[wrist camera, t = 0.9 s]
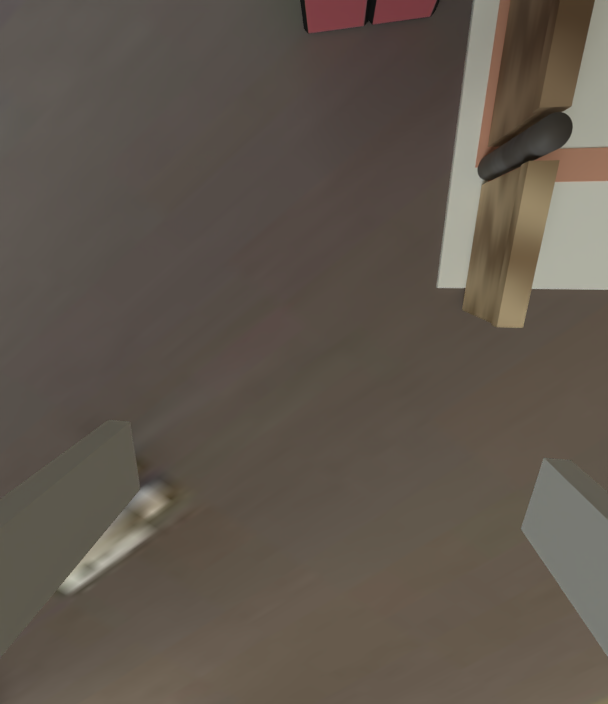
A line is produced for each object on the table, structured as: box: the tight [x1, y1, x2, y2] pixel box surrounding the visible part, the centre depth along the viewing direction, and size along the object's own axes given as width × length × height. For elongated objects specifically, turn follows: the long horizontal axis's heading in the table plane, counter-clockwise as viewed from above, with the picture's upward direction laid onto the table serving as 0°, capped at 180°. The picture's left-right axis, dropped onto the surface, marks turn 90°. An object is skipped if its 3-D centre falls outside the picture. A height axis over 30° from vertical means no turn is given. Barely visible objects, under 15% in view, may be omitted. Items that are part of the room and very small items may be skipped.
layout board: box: [436, 0, 608, 290], centre depth 25 cm, size 22×18×1 cm
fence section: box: [477, 0, 595, 181], centre depth 21 cm, size 12×2×8 cm, turn 0°
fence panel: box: [462, 160, 560, 328], centre depth 24 cm, size 11×2×7 cm, turn 0°
